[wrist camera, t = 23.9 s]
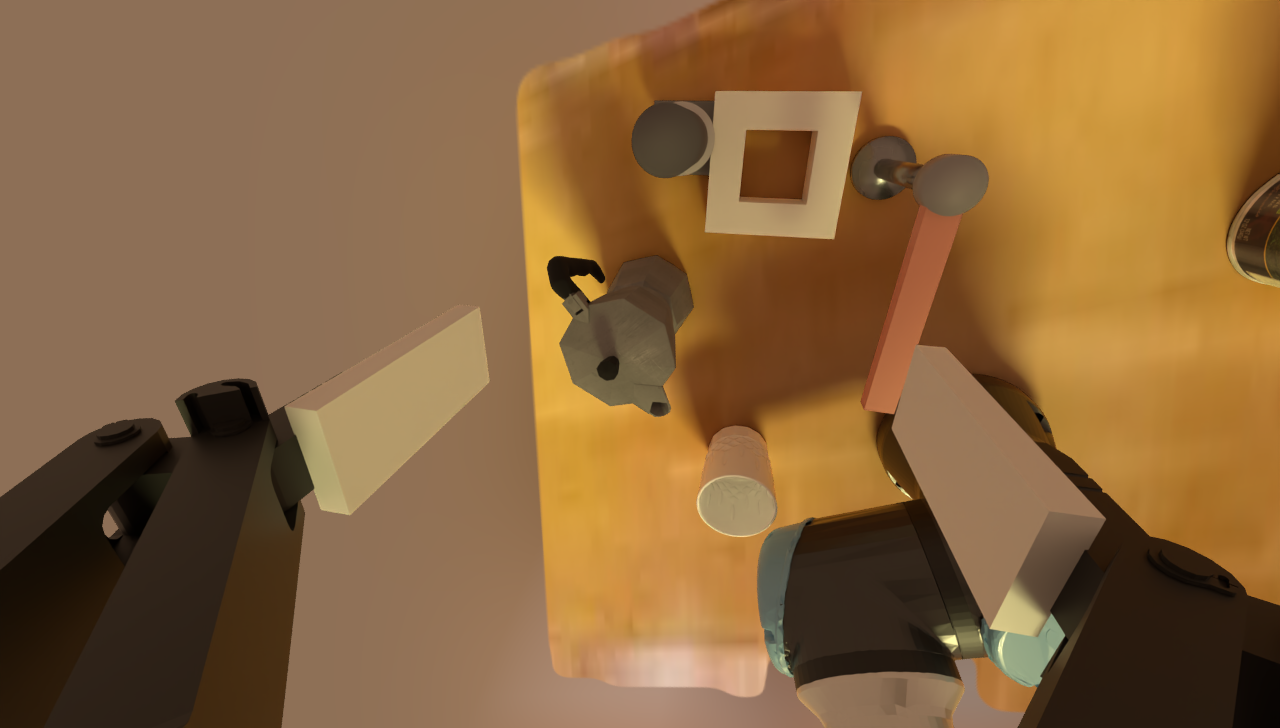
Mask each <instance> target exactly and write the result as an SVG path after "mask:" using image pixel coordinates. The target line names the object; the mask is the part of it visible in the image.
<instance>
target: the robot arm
mask: <svg viewBox="0 0 1280 728" xmlns="http://www.w3.org/2000/svg"><path fill="white" fill-rule="evenodd" d="M489 381H490V380H489V373H488V366H487V358H486V351H485V343H484V336H483V329H482V321H481V315H480V307H477V306H466V305H457V306H455V307H453V308H452V309H450V310H448V311H447V312H445V313H443V314H441V315H440V316H438V317H436V318H435V319H433V320H431V321H429V322H428V323H426V324H424V325H423V326H421V327H419V328H417V329H416V330H414V331H412V332H411V333H409V334H407V335H406V336H404V337H402V338H400V339H399V340H397V341H395V342H394V343H392V344H390V345H388V346H387V347H385V348H383V349H382V350H380V351H378V352H376V353H375V354H373V355H371V356H370V357H368V358H366V359H364V360H363V361H361V362H359V363H358V364H356V365H354V366H353V367H351V368H349V369H347V370H346V371H344V372H342V373H340V374H338V375H336V376H335V377H333V378H331V379H329V380H328V381H326V382H325V383H324V384H321V385H319V386H317V387H316V388H314V389H312V390H311V391H310V392H307V393H306V394H304V395H302V396H300V397H299V398H297V399H295V400H293V401H292V402H290V403H289V404H287V405H285V406H283V407H281V408H280V409H278V410H276V411H275V412H273V413H271V414H269V415H268V413H267V410H266V407H265V405H264V402H263V399H262V397H261V394H260V391H259V389H258V386H257V383H256V382H255V381H252V380H250V379H229V380H222V381H217V382H213V383H209V384H206V385H203V386H200V387H197V388H195V389H192V390H190V391H188V392H186V393H184V394H182V395H181V396H180V397H179V398H178V399H177V400H175V402H176V405H177V407H178V409H179V411H180V413H181V415H182V417H183V419H184V422H185V424H186V426H187V428H188V430H189V432H190V434H191V437H184V438H168V436H167V434H166V432H165V430H164V428H163V426H162V424H161V422H160V421H159V420H156V419H153V418H145V419H134V420H123V421H118V422H116V423H111V424H108V425H105V426H103V427H102V428H101V429H98V430H96V431H93V432H91V433H89V434H88V435H86V436H84V437H82V438H80V439H79V440H77V441H76V442H75V443H73V444H72V445H70V446H69V447H68V448H66V449H65V450H64V451H62V452H61V453H60V454H58V455H57V456H56V457H54V458H53V459H52V460H50V461H49V462H47V463H46V464H45V465H43V466H42V467H41V468H40V469H38V470H37V471H35V472H34V473H33V474H31V475H30V476H28V477H27V478H26V479H24V480H23V481H22V482H20V483H19V484H18V485H16V486H15V487H14V488H12V489H11V490H9V491H8V492H7V493H5V494H4V495H3V496H1V497H0V728H281V725H282V717H283V708H284V699H285V689H286V681H287V672H288V663H289V654H290V644H291V636H292V626H293V617H294V608H295V599H296V590H297V581H298V571H299V563H300V554H301V545H302V535H303V526H304V517H305V512H304V508H303V506H302V503H301V499H302V498H303V497H304V496H306V495H307V494H308V493H309V492H311V491H312V490H313V489H314V491H315V494H316V497H317V500H318V503H319V506H320V508H321V510H325V511H330V512H336V513H341V514H347V515H351V514H352V513H353V512H354V511H355V510H356V509H357V508H358V507H359V506H360V505H361V504H362V503H363V502H364V501H365V500H367V499H368V498H369V497H370V496H371V495H372V494H373V493H374V492H375V491H376V490H377V489H378V488H379V487H380V486H381V485H382V484H383V483H384V482H385V481H386V480H387V479H388V478H389V477H391V476H392V475H393V474H394V473H395V472H396V471H397V470H398V469H399V468H400V467H401V466H402V465H403V464H404V463H405V462H406V461H407V460H408V459H409V458H410V457H411V456H413V455H414V454H415V453H416V452H417V451H418V450H419V449H420V448H421V447H422V446H423V445H424V444H425V443H426V442H427V441H428V440H429V439H430V438H431V437H432V436H433V435H435V434H436V433H437V432H438V431H439V430H440V429H441V428H442V427H443V426H444V425H445V424H446V423H447V422H448V421H449V420H450V419H451V418H452V417H453V416H454V415H455V414H456V413H457V412H459V411H460V410H461V409H462V408H463V407H464V406H465V405H466V404H467V403H468V402H469V401H470V400H471V399H472V398H473V397H474V396H475V395H476V394H477V393H478V392H480V391H481V390H482V389H483V388H484V387H485V386H486V385H487V384H488V383H489ZM877 448H878V453H879V457H880V459H881V462H882V464H883V467H884V469H885V471H886V473H887V475H888V476H889V478H890V479H891V481H892V482H893V483H894V484H895V486H896V487H897V488H898V489H899V490H901V491H902V492H903V493H904V494H906V495H907V496H908V497H910V498H912V499H913V500H912V501H907V502H901V503H896V504H891V505H885V506H880V507H875V508H869V509H864V510H859V511H853V512H848V513H843V514H838V515H832V516H827V517H822V518H813V517H812V518H808V519H806V520H804V521H803V522H801V523H797V524H793V525H789V526H785V527H781V528H778V529H775V530H774V531H772V532H771V533H770V534H769V535H768V536H767V538H766V539H765V541H764V543H763V545H762V547H761V550H760V555H759V560H758V570H757V593H758V607H759V615H760V622H761V626H762V628H764V629H765V630H764V634H765V644H766V648H767V651H768V654H769V657H770V659H771V661H772V663H773V665H774V666H775V668H776V669H778V671H780V672H781V673H783V674H786V675H787V676H789V677H794V680H795V686H796V692H797V697H798V699H799V700H800V701H801V702H802V703H803V704H804V705H805V706H806V707H807V708H808V709H809V710H811V711H812V712H813V713H814V714H815V715H816V716H817V717H818V718H819V720H820V721H821V723H822V724H823V726H824V728H954V726H953V718H952V715H953V713H954V711H955V709H956V707H957V705H958V703H959V701H960V699H961V697H962V695H963V693H964V691H965V688H964V684H963V683H962V680H961V677H960V675H959V672H958V669H957V667H956V664H955V660H961V659H970V658H982V657H983V658H985V657H989V659H990V660H991V661H992V662H993V663H994V664H995V665H996V666H997V667H998V668H999V669H1000V670H1001V671H1002V672H1003V673H1004V674H1005V675H1007V676H1008V677H1010V678H1011V679H1012V680H1015V681H1016V682H1017V683H1019V684H1022V685H1024V686H1027V687H1031V686H1034V685H1035V686H1036V687H1037V690H1036V692H1035V694H1034V696H1033V698H1032V700H1031V702H1030V704H1029V706H1028V708H1027V710H1026V712H1025V714H1024V716H1023V718H1022V720H1021V722H1020V724H1019V726H1018V728H1280V606H1279V605H1276V604H1273V603H1270V602H1267V601H1264V600H1261V599H1258V598H1255V597H1251V596H1248V595H1247V593H1246V590H1245V588H1244V587H1243V586H1242V585H1241V584H1240V583H1239V581H1238V580H1237V579H1236V578H1235V577H1234V576H1233V575H1232V574H1231V573H1229V572H1228V571H1226V570H1225V569H1224V568H1222V567H1221V566H1219V565H1218V564H1216V563H1215V562H1214V561H1212V560H1211V559H1209V558H1207V557H1205V556H1203V555H1201V554H1199V553H1197V552H1195V551H1193V550H1191V549H1189V548H1187V547H1184V546H1181V545H1179V544H1176V543H1173V542H1170V541H1168V540H1165V539H1160V538H1155V537H1150V536H1149V535H1148V534H1147V533H1146V532H1145V531H1144V530H1143V529H1142V528H1141V527H1140V526H1139V525H1138V524H1137V523H1136V522H1135V521H1134V520H1133V519H1132V518H1131V517H1130V516H1129V515H1128V514H1127V513H1126V512H1125V511H1124V510H1123V509H1122V508H1121V507H1120V506H1119V505H1118V504H1117V503H1116V502H1115V501H1114V500H1113V499H1112V498H1111V497H1110V496H1109V495H1108V494H1107V493H1103V492H1102V488H1101V487H1100V486H1099V485H1098V484H1097V483H1096V482H1095V481H1094V480H1093V479H1091V478H1088V474H1087V473H1086V472H1085V471H1084V470H1083V469H1082V468H1081V467H1080V466H1079V465H1078V464H1077V463H1076V462H1075V461H1074V460H1073V459H1072V458H1070V457H1068V456H1067V455H1065V454H1064V453H1062V452H1060V451H1059V450H1057V449H1056V445H1055V442H1054V438H1053V435H1052V432H1051V428H1050V425H1049V423H1048V421H1047V418H1046V417H1045V415H1044V413H1043V412H1042V411H1041V409H1040V408H1039V407H1038V406H1037V405H1036V404H1035V403H1034V402H1033V401H1032V400H1031V399H1030V398H1029V397H1028V396H1027V395H1026V394H1025V393H1024V392H1022V391H1021V390H1020V389H1018V388H1017V387H1015V386H1014V385H1012V384H1010V383H1008V382H1006V381H1003V380H1000V379H998V378H994V377H990V376H984V375H975V374H970V373H969V371H968V370H967V369H966V368H965V367H964V366H963V365H962V364H961V363H960V362H959V361H958V360H957V359H956V358H955V356H954V355H953V354H952V353H951V352H950V351H949V350H948V349H947V348H946V347H936V346H925V345H916V346H915V349H914V353H913V356H912V360H911V363H910V367H909V370H908V373H907V377H906V380H905V384H904V387H903V391H902V394H901V398H900V399H899V401H898V404H897V407H896V410H895V413H894V414H889V413H886V415H885V416H884V418H883V420H882V422H881V425H880V428H879V431H878V436H877ZM107 510H108V511H109V513H110V515H111V516H112V518H113V520H114V521H115V523H116V525H117V526H118V528H119V529H118V530H117V531H116V532H115V533H114V534H113V535H112V536H111V537H110V538H108V537H107V536H106V535H105V534H104V531H103V527H102V524H103V518H104V514H105V513H106V511H107Z"/></svg>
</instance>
